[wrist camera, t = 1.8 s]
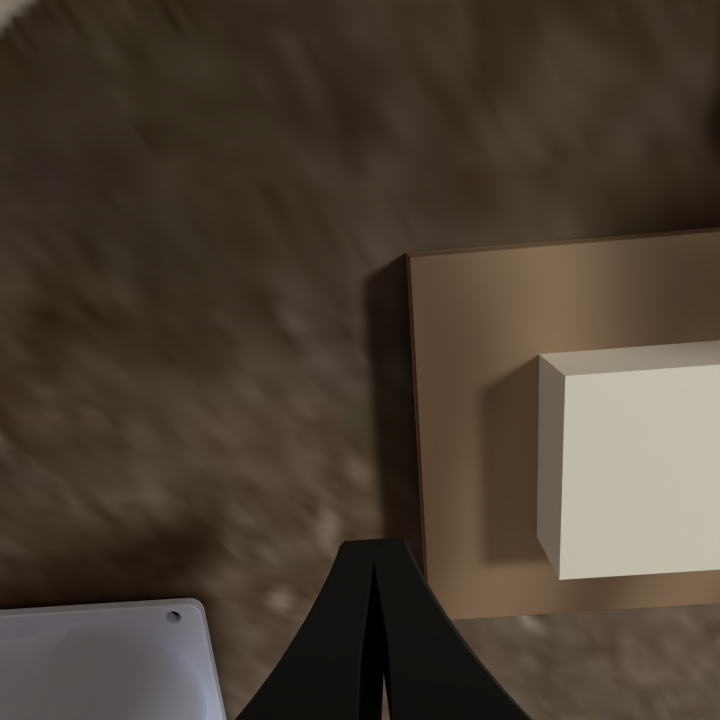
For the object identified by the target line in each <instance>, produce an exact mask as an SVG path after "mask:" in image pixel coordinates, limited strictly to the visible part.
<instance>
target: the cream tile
mask: <svg viewBox="0 0 720 720" xmlns="http://www.w3.org/2000/svg"><path fill="white" fill-rule="evenodd" d="M537 538H538V540H539V542H540V544H541V546H542V548H543V550H544V551H545V553H546V555H547V557H548V559H549V561H550V563H551V565H552V567H553V569H554V570H555V572H556V574H557V576H558V578H559V580H564V579H580V578H596V577H611V576H627V575H643V574H658V573H674V572H690V571H705V570H720V340H719V341H705V342H692V343H679V344H666V345H653V346H640V347H627V348H614V349H601V350H588V351H575V352H562V353H548V354H539V410H538V479H537Z"/></svg>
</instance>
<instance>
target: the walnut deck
mask: <svg viewBox="0 0 720 720" xmlns="http://www.w3.org/2000/svg"><path fill="white" fill-rule="evenodd" d="M406 262H407V280H408V298H409V316H410V333H411V351H412V369H413V386H414V404H415V422H416V440H417V457H418V475H419V493H420V511H421V528H422V546H423V564H424V577H425V579H426V581H427V583H428V585H429V587H430V588H431V590H432V592H433V593H434V595H435V597H436V598H437V600H438V601H439V603H440V605H441V606H442V608H443V610H444V611H445V613H446V614H447V616H448V617H449V619H450V620H454V619H471V618H487V617H503V616H519V615H535V614H551V613H567V612H583V611H600V610H616V609H632V608H648V607H664V606H680V605H696V604H713V603H720V570H705V571H690V572H674V573H658V574H643V575H627V576H611V577H596V578H580V579H564V580H559V578H558V576H557V574H556V572H555V570H554V569H553V567H552V565H551V563H550V561H549V559H548V557H547V555H546V553H545V551H544V550H543V548H542V546H541V544H540V542H539V540H538V538H537V479H538V410H539V354H548V353H562V352H575V351H588V350H601V349H614V348H627V347H640V346H653V345H666V344H679V343H692V342H705V341H719V340H720V227H712V228H700V229H688V230H675V231H663V232H651V233H639V234H627V235H615V236H603V237H591V238H579V239H567V240H555V241H542V242H530V243H518V244H506V245H494V246H482V247H470V248H458V249H446V250H434V251H421V252H409V253H406Z"/></svg>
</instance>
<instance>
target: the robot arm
mask: <svg viewBox="0 0 720 720" xmlns="http://www.w3.org/2000/svg"><path fill="white" fill-rule="evenodd" d="M171 611H174V612H177V613H179V614H180V615H175V614H173V613H172V612H171ZM383 675H384V678H385V686H386V693H387V701H388V708H389V715H390V720H532V719H531V718H530V717H529V716H528V715H527V714H526V713H525V712H524V711H523V710H522V709H521V707H520V706H519V705H518V704H517V703H516V702H515V701H514V700H513V699H512V698H511V696H510V695H509V694H508V693H507V692H506V691H505V690H504V689H503V688H502V686H501V685H500V684H499V683H498V682H497V681H496V679H495V678H494V677H493V676H492V675H491V673H490V672H489V671H488V670H487V669H486V668H485V666H484V665H483V664H482V663H481V661H480V660H479V659H478V657H477V656H476V655H475V654H474V652H473V651H472V650H471V648H470V647H469V646H468V644H467V643H466V642H465V640H464V639H463V637H462V636H461V635H460V633H459V632H458V630H457V629H456V628H455V626H454V625H453V623H452V622H451V620H450V619H449V617H448V616H447V614H446V613H445V611H444V610H443V608H442V606H441V605H440V603H439V601H438V600H437V598H436V597H435V595H434V593H433V592H432V590H431V588H430V587H429V585H428V583H427V581H426V579H425V577H424V575H423V574H422V572H421V570H420V568H419V566H418V564H417V561H416V559H415V557H414V554H413V552H412V549H411V546H410V542H409V541H408V540H406V539H405V538H404V537H402V538H386V539H371V540H356V541H344V542H343V543H342V545H341V546H340V547H339V550H338V553H337V556H336V559H335V561H334V564H333V566H332V568H331V571H330V573H329V575H328V577H327V579H326V581H325V583H324V586H323V588H322V590H321V591H320V593H319V595H318V597H317V599H316V601H315V603H314V605H313V607H312V609H311V610H310V612H309V614H308V616H307V618H306V619H305V621H304V623H303V624H302V626H301V628H300V629H299V631H298V633H297V634H296V636H295V637H294V639H293V641H292V642H291V644H290V646H289V647H288V649H287V650H286V652H285V653H284V655H283V656H282V658H281V659H280V661H279V662H278V664H277V665H276V667H275V668H274V670H273V671H272V672H271V674H270V675H269V677H268V678H267V679H266V681H265V682H264V683H263V685H262V686H261V687H260V689H259V690H258V692H257V693H256V694H255V695H254V697H253V698H252V699H251V701H250V702H249V703H248V704H247V706H246V707H245V708H244V709H243V710H242V712H241V713H240V714H239V715H238V717H237V718H236V719H235V720H382V698H383ZM0 720H226V715H225V710H224V705H223V700H222V695H221V690H220V685H219V680H218V675H217V670H216V665H215V660H214V655H213V650H212V645H211V640H210V635H209V630H208V625H207V620H206V615H205V610H204V607H203V605H202V603H201V602H200V601H198V600H196V599H194V598H178V599H163V600H147V601H131V602H116V603H100V604H85V605H69V606H54V607H38V608H22V609H7V610H0Z"/></svg>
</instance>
